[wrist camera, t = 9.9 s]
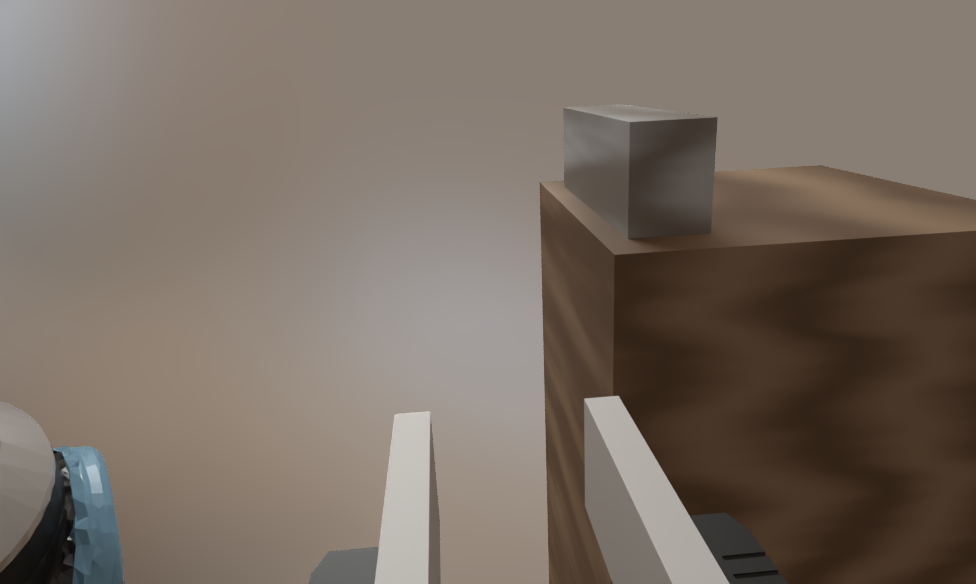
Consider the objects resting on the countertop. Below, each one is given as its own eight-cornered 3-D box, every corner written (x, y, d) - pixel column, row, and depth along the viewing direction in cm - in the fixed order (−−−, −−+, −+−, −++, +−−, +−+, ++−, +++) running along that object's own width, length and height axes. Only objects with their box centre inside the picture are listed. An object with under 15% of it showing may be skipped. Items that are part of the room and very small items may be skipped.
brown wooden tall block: (607, 884, 31) (615, 127, 20) (550, 618, 46) (537, 107, 36) (939, 843, 32) (1109, 100, 21) (775, 595, 47) (827, 91, 36)
